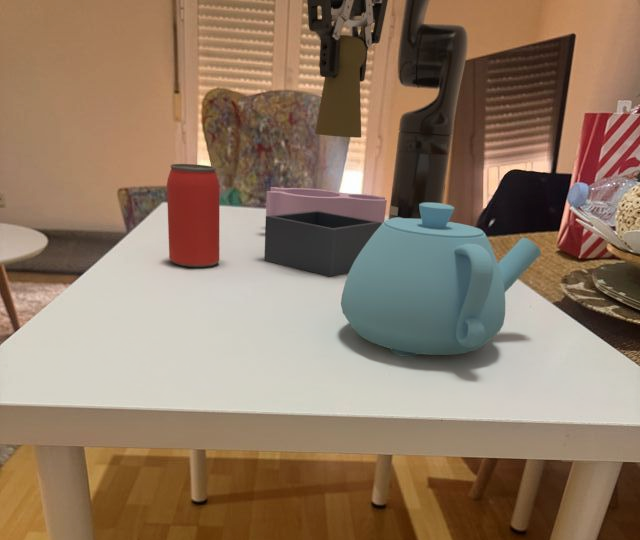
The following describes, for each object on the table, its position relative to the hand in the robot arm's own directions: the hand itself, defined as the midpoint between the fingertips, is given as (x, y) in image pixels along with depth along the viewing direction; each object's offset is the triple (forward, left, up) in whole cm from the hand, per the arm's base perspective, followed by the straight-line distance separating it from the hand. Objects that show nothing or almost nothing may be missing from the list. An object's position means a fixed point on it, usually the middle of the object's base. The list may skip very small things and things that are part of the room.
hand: (342, 78), depth 78 cm
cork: (0, 0, -7) cm, 7 cm away
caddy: (0, -1, -23) cm, 23 cm away
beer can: (+15, -11, -23) cm, 30 cm away
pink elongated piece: (-18, -14, -23) cm, 33 cm away
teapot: (+18, +27, -23) cm, 39 cm away
